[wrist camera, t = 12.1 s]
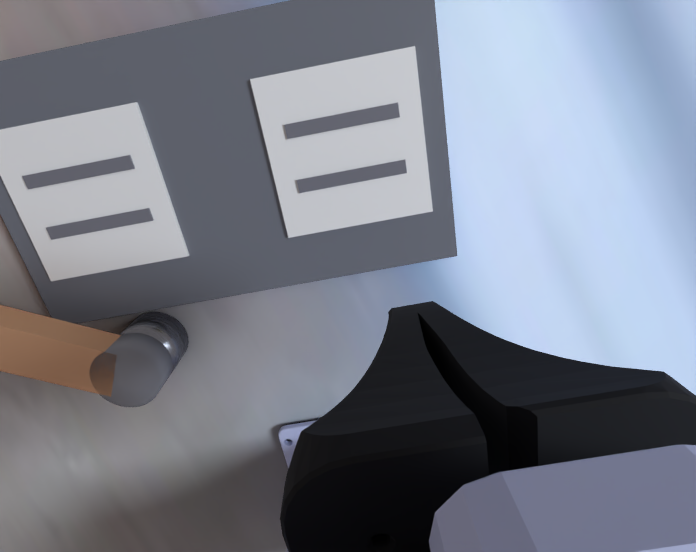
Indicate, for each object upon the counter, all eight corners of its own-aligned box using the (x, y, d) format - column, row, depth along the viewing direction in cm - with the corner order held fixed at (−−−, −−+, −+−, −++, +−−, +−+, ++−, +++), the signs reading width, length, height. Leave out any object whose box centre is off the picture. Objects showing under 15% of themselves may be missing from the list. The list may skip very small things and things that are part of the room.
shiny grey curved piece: (196, 357, 23) (183, 378, 21) (141, 367, 23) (124, 388, 21) (177, 307, 22) (162, 324, 20) (120, 317, 22) (99, 335, 20)
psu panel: (452, 250, 21) (458, 257, 20) (66, 320, 22) (52, 329, 21) (427, -23, 17) (433, -32, 16) (-52, 77, 18) (-76, 74, 17)
